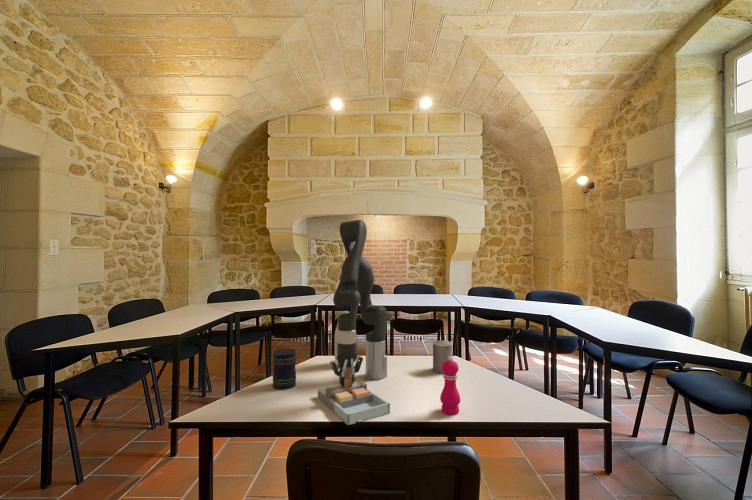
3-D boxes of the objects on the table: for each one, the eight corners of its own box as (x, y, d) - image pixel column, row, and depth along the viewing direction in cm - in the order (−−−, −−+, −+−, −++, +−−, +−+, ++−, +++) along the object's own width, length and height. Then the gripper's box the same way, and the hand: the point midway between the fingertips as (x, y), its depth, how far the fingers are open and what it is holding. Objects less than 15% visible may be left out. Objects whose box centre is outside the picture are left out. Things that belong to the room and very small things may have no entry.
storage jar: (278, 391, 145) (278, 356, 145) (268, 385, 152) (268, 351, 152) (300, 385, 151) (300, 351, 151) (289, 379, 159) (289, 347, 159)
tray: (374, 402, 135) (374, 393, 135) (389, 413, 125) (389, 403, 125) (334, 412, 126) (334, 402, 126) (347, 425, 116) (347, 414, 116)
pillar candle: (432, 366, 177) (432, 337, 177) (452, 367, 176) (452, 338, 176) (433, 373, 167) (433, 342, 167) (453, 374, 166) (453, 343, 166)
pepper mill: (456, 417, 122) (456, 360, 122) (437, 412, 126) (437, 357, 126) (463, 409, 128) (462, 355, 128) (444, 405, 132) (444, 352, 132)
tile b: (346, 395, 134) (346, 391, 134) (352, 399, 130) (352, 395, 130) (334, 397, 131) (334, 393, 131) (340, 402, 127) (340, 398, 127)
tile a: (362, 391, 138) (362, 387, 138) (368, 395, 133) (368, 391, 133) (351, 393, 135) (351, 390, 135) (357, 398, 131) (357, 394, 131)
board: (355, 388, 148) (355, 381, 148) (374, 402, 135) (374, 394, 135) (317, 396, 139) (317, 389, 139) (334, 412, 126) (334, 404, 126)
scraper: (362, 386, 142) (362, 361, 142) (366, 390, 138) (367, 364, 138) (325, 394, 134) (325, 367, 134) (329, 398, 130) (330, 371, 130)
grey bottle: (332, 367, 176) (332, 312, 176) (338, 361, 186) (338, 309, 186) (351, 368, 174) (351, 312, 174) (355, 362, 184) (356, 309, 185)
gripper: (358, 336, 143) (358, 378, 143) (326, 341, 136) (326, 385, 136) (367, 340, 136) (367, 384, 136) (334, 345, 129) (334, 391, 129)
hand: (346, 384), depth 136 cm, fingers closed on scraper, 3 cm apart
